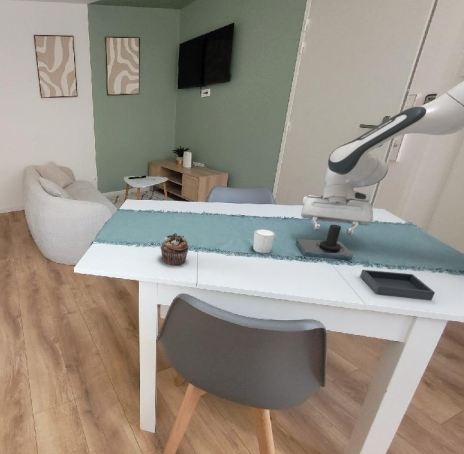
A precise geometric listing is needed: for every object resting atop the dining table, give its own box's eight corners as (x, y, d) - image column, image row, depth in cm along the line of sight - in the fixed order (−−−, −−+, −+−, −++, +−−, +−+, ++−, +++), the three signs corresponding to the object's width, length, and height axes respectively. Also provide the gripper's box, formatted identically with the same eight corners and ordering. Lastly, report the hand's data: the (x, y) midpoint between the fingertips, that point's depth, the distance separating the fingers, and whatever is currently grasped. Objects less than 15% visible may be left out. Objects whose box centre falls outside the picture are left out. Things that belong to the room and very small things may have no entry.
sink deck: (338, 246, 107) (340, 241, 106) (351, 259, 98) (353, 254, 97) (295, 243, 111) (296, 238, 110) (304, 256, 102) (305, 251, 101)
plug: (334, 248, 106) (342, 223, 102) (341, 256, 100) (350, 230, 96) (315, 247, 107) (322, 222, 103) (321, 255, 102) (328, 229, 98)
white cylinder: (272, 247, 109) (276, 230, 106) (271, 255, 104) (275, 237, 101) (252, 244, 112) (255, 227, 110) (250, 251, 107) (253, 234, 104)
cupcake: (192, 257, 105) (194, 232, 101) (180, 269, 98) (181, 243, 94) (168, 251, 111) (169, 227, 107) (155, 261, 104) (155, 236, 100)
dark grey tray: (409, 281, 86) (412, 274, 85) (431, 300, 78) (435, 292, 77) (359, 276, 89) (362, 269, 88) (376, 294, 81) (378, 286, 80)
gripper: (304, 190, 109) (299, 223, 105) (376, 196, 99) (373, 233, 95) (301, 198, 114) (296, 230, 110) (369, 204, 104) (366, 240, 100)
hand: (332, 231), depth 102 cm, fingers open, 8 cm apart
